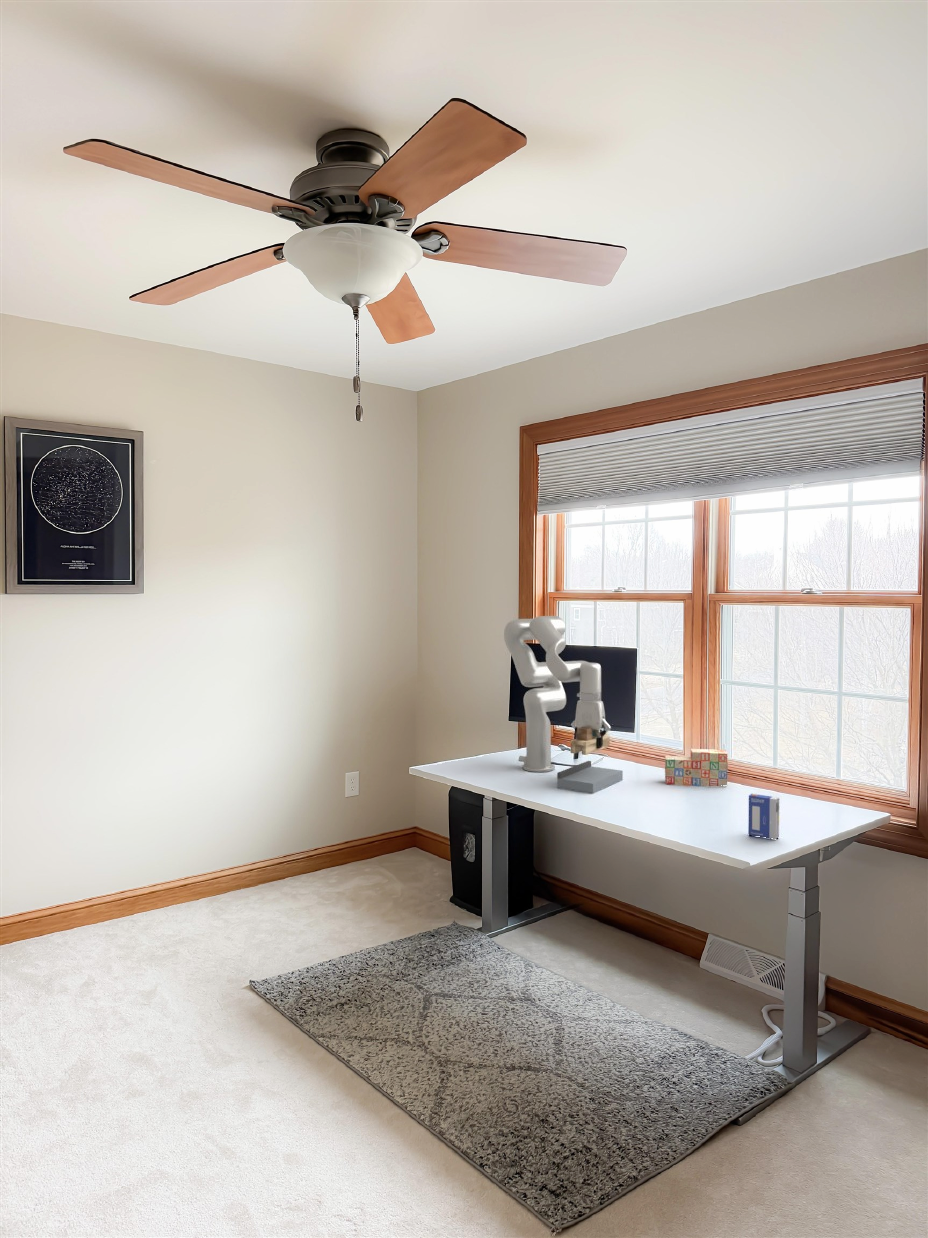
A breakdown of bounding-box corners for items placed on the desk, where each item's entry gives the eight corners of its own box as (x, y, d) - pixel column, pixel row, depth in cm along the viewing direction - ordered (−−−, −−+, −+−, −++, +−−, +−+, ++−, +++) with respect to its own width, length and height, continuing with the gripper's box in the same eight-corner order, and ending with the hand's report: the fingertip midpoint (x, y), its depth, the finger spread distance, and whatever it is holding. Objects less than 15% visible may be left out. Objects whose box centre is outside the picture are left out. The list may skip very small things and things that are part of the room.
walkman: (748, 836, 237) (748, 794, 237) (751, 833, 240) (751, 792, 239) (776, 840, 233) (777, 798, 232) (779, 838, 235) (779, 796, 235)
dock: (557, 788, 294) (557, 772, 294) (588, 775, 314) (588, 760, 313) (593, 793, 286) (593, 778, 286) (622, 780, 306) (622, 765, 305)
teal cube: (588, 735, 302) (588, 724, 302) (593, 734, 306) (593, 723, 305) (598, 736, 300) (598, 725, 300) (603, 735, 303) (603, 724, 303)
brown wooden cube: (577, 739, 295) (577, 728, 295) (582, 738, 298) (582, 726, 298) (587, 740, 292) (587, 729, 292) (592, 739, 296) (592, 727, 296)
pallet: (570, 753, 293) (570, 740, 293) (594, 744, 309) (594, 732, 308) (585, 755, 290) (585, 742, 289) (609, 746, 305) (609, 734, 305)
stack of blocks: (665, 785, 299) (665, 750, 298) (664, 780, 305) (665, 747, 304) (727, 787, 294) (727, 753, 294) (725, 783, 300) (726, 749, 300)
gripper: (564, 696, 300) (564, 746, 301) (608, 700, 291) (608, 751, 291) (574, 694, 307) (574, 743, 307) (617, 697, 297) (617, 747, 297)
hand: (590, 746), depth 299 cm, fingers closed on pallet, 6 cm apart
